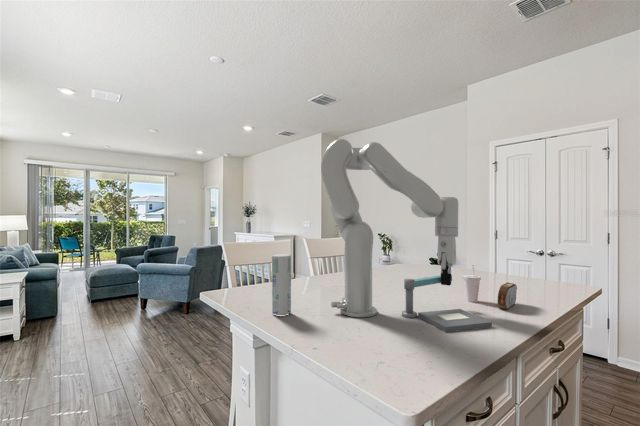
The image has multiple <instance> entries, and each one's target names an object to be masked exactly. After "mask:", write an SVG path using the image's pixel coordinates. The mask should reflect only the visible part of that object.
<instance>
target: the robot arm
mask: <svg viewBox="0 0 640 426" xmlns="http://www.w3.org/2000/svg"><path fill="white" fill-rule="evenodd" d="M320 170H321V171H320V173H321V178H322V181H323V184H324V187H325V189H326V192H327V195H328V198H329V200H330V202H331V203H330V210H331V213H332V216H333V219H334V221H335V223H336V225H337V228H338V230H339V233H340V235H341V238H342V239H343V241H344V255H343V256H344V267H343V268H344V297H341V300H339V301H331V302H330V305H331V308H337V310H338V309H339V310H340V311H339V312H340V313H341V314H342V315H344V316H346V315H347V317H351V318H369V317H374V316H375V315H376V314H377V313H378V308H376V306H373V246H374V234H373V230H372V227H371V226H370V225H369V224H368V223H366V222H365V221H363V220H362V216H361V214H360V211H359V210H360V203H359V200H358V198H357V196H356V194H355V191H354V189H353V186H352V185H351V182H350V179H349V177H348V173H347V170H348V171H349V170H352V171H354V170H355V171H369V170H371V172H373V174H375V176H377V177H378V178H379V180H380V181H382V182H383V184H385V186H386V187H387V188H389V189H391V190H393V191H396V192H398V193H399V194H402V195H404V196H405V197H407V198H408V199H409V200H410V201H412V202H411V206H410V208H411V212H412V214H413V215H415V216H416V217H418V218H424V219H426V218H434V236H435V237H437V264H438V266H440V275H441V283H440V285H442V286H451V285H452V281H451V275H452V267H453V266H455V264H457V246H456V245H457V243H456V238H458V237H459V199H458V198H457V197H454V196H453V197H452V196H440V195H439V194H438V193H437V192H436V191H435V190H434V189H433V188H432V187H431V185H429V184H428V183H426V181H424V180H423V179H421V178H419V176H417V175H415V174H414V173H412V172H411V171H409V170H408V169H407V168H405V167H404V166H403V165H402V164H401V163H400V162H399V161H398V160H397V159H396V157H394V156H393V155H392V154H391V153H390V152H389V151H388V150H387V149H386V148H385V147H384V146H383V145H382V144H381V143H379V142H377V141H371V142H368V143H367V144H366V145H364V146H363V147H353V146H352V144H351V142H350V141H348V140H347V139H345V138H338V139H335V140H333V141H332V142H331V143H330V144H329V145H328V147H327V148H326V150H324V153H323V156H322V158H321V165H320Z"/></svg>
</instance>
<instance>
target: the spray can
mask: <svg viewBox="0 0 640 426" xmlns="http://www.w3.org/2000/svg"><path fill="white" fill-rule="evenodd" d="M271 279H272V281H271V284H272V285H271V286H272V289H271V290H272V291H271V292H272V293H271V294H272V296H271V297H272V299H271V300H272V301H271V302H272V303H271V305H272V308H271V309H272V315H273V314H276V315H286V314H289V313H292V312H291V311H292V255H291V254H287V253H281V254H280V253H279V254H278V253H277V254H272V255H271Z"/></svg>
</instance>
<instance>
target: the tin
mask: <svg viewBox="0 0 640 426" xmlns="http://www.w3.org/2000/svg"><path fill="white" fill-rule="evenodd" d="M517 290H518V287H517V284H516V283H512V282H505V283H504V284H501V285H500V287H499V290H498V294H497V307H498V309H503V310H509V309H511V308H512V307H513V306H515V304H516V301H517Z"/></svg>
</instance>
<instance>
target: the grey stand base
mask: <svg viewBox="0 0 640 426" xmlns="http://www.w3.org/2000/svg"><path fill="white" fill-rule="evenodd" d="M401 317H403V318H406V319H407V318H408V319H417V318H419V319H421V320H423V321H425V322H426V323H428V324H429V325H432V326H433V327H435V328H437V329H438V330H441V331H442V332H444V333H449V332H450V333H453V332H462V331H469V330H471V331H472V330H477V329H488V328H493V322H492V321H490V320H488V319H485V318H483V317H481V316H478V315H475V314H473V313H471V312H469V311H466V310H464V309H461V308H454V309H452V308H451V309H443V310H441V309H440V310H432V311H419V312H417V311H414V290H407V289H405V310H402V311H401Z"/></svg>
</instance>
